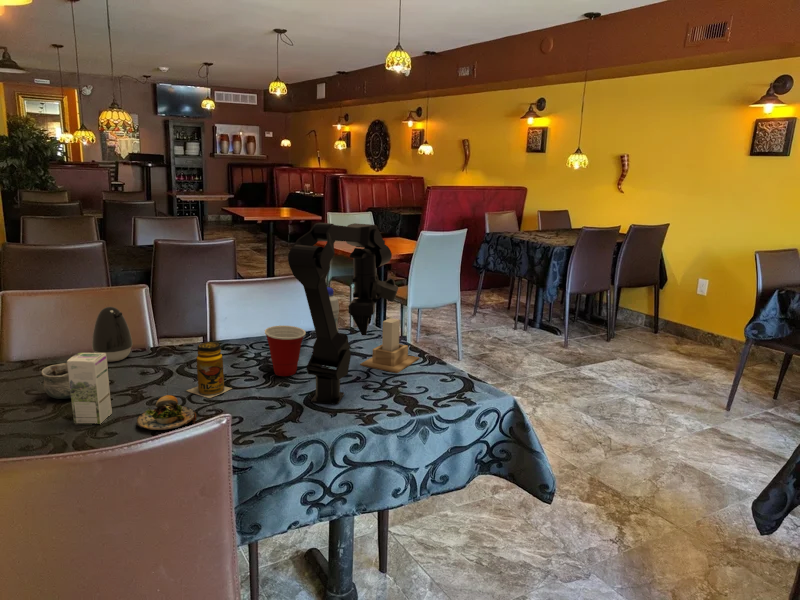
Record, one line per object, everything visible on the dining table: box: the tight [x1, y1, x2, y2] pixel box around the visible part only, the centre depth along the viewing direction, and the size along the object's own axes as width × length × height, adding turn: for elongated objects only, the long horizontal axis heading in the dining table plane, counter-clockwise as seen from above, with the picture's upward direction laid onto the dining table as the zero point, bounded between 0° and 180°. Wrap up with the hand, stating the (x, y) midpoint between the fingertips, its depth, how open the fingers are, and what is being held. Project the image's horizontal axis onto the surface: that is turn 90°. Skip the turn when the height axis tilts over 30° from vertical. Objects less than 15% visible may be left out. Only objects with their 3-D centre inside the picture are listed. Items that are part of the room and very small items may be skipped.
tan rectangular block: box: [381, 317, 401, 352], centre depth 164 cm, size 4×3×12 cm, turn 153°
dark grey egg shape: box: [91, 306, 134, 363], centre depth 161 cm, size 10×10×15 cm
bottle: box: [327, 286, 340, 332], centre depth 171 cm, size 7×7×20 cm
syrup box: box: [66, 352, 113, 425], centre depth 122 cm, size 6×6×14 cm
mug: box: [40, 362, 71, 400], centre depth 135 cm, size 10×12×10 cm
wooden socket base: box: [359, 343, 420, 374], centre depth 165 cm, size 14×12×4 cm
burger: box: [136, 386, 197, 431], centre depth 122 cm, size 12×12×8 cm
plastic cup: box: [264, 325, 307, 377], centre depth 153 cm, size 11×11×12 cm
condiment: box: [186, 341, 233, 399], centre depth 140 cm, size 7×8×12 cm
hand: (366, 329), depth 152 cm, fingers open, 9 cm apart
